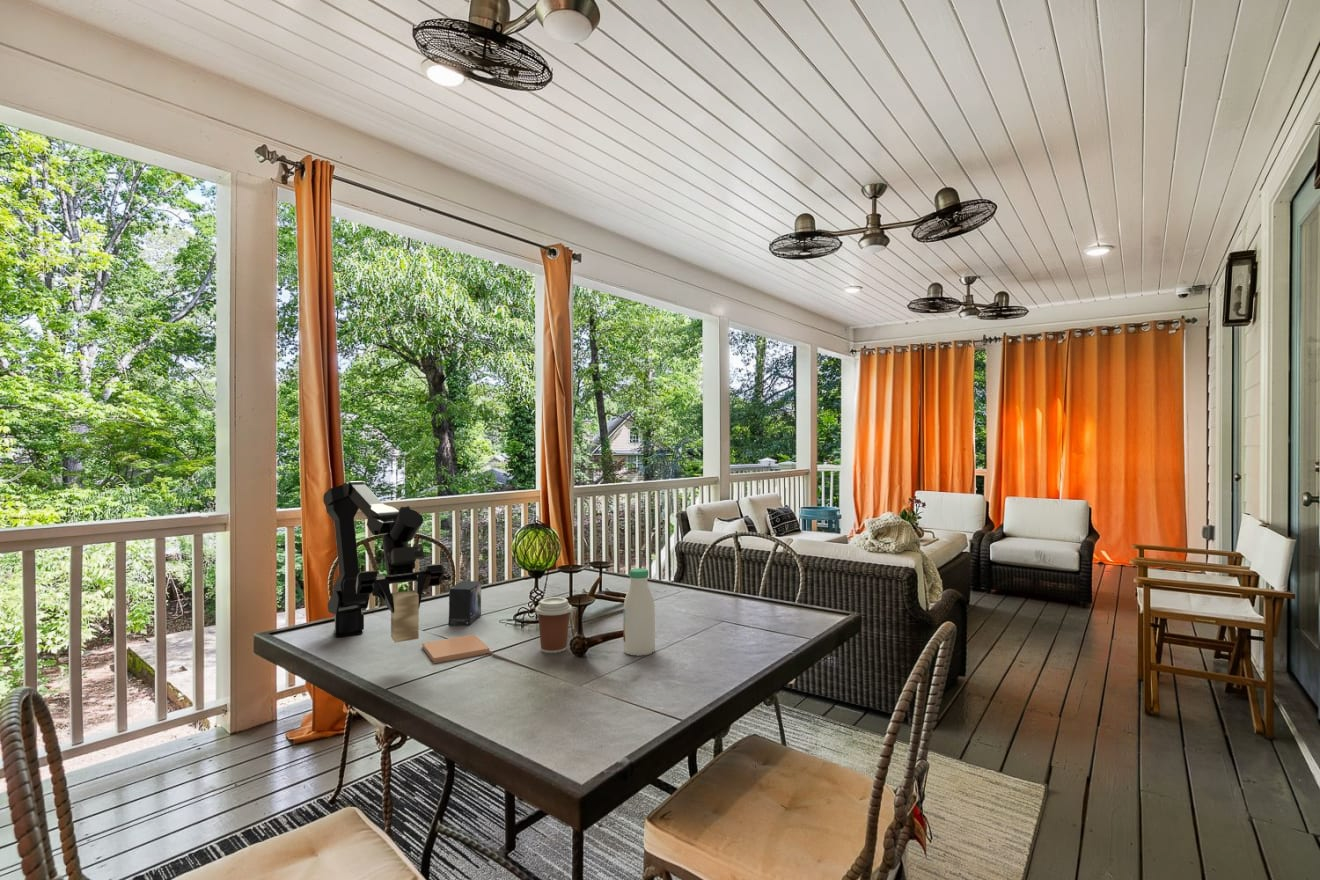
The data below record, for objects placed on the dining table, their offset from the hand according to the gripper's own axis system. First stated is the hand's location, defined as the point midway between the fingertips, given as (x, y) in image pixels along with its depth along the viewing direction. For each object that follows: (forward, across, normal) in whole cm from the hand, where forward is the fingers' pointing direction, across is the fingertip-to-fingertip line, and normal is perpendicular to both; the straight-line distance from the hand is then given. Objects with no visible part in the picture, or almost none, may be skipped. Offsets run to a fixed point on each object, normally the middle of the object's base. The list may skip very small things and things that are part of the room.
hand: (405, 610), depth 140 cm
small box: (-13, +22, +32) cm, 41 cm away
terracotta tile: (+4, +13, +14) cm, 20 cm away
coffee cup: (+13, +34, +6) cm, 37 cm away
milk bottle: (+23, +50, -3) cm, 55 cm away
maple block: (+4, 0, +6) cm, 7 cm away
